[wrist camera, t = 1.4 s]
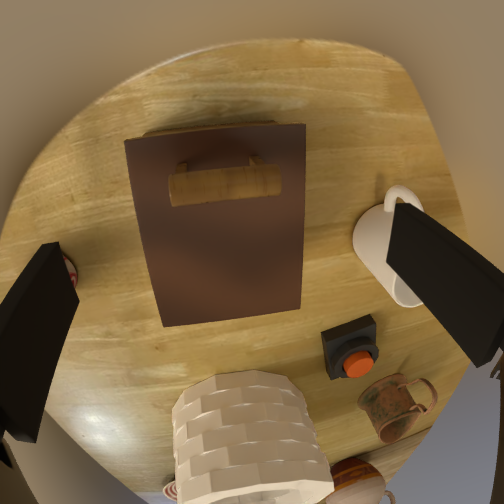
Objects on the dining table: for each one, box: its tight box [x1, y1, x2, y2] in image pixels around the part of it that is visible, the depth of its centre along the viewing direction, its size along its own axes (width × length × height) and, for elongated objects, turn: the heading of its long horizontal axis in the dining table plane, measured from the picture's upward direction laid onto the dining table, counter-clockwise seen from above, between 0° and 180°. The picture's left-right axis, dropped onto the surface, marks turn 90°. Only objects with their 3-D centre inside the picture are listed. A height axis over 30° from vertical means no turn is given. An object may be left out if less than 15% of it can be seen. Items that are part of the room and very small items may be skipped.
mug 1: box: [353, 185, 424, 307], centre depth 33 cm, size 12×8×10 cm
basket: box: [172, 370, 335, 504], centre depth 44 cm, size 25×24×19 cm
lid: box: [124, 123, 306, 327], centre depth 22 cm, size 16×13×7 cm
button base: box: [321, 314, 379, 380], centre depth 46 cm, size 10×8×4 cm
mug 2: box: [358, 374, 438, 444], centre depth 52 cm, size 12×18×12 cm, turn 169°
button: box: [343, 351, 374, 378], centre depth 44 cm, size 4×4×2 cm
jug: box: [325, 458, 396, 504], centre depth 65 cm, size 20×18×30 cm
